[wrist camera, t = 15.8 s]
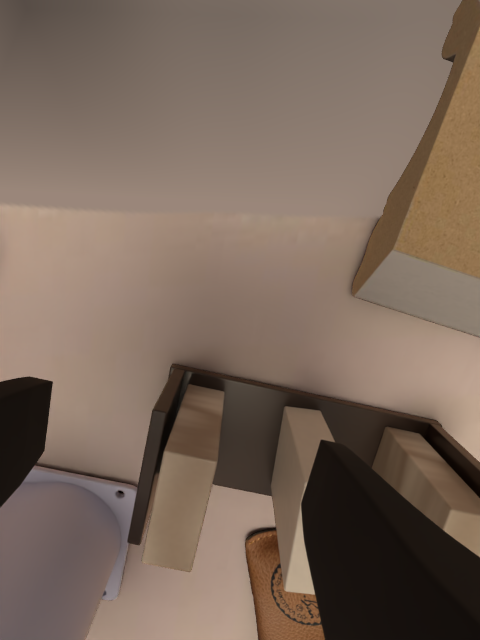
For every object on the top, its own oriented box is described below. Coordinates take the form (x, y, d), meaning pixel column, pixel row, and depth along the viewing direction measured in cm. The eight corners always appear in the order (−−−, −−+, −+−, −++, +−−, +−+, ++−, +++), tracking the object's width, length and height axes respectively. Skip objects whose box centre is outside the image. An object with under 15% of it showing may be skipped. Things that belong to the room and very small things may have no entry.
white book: (270, 486, 21) (283, 592, 15) (284, 405, 20) (304, 481, 14) (305, 490, 21) (333, 598, 15) (320, 409, 20) (358, 488, 14)
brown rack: (151, 465, 21) (109, 573, 14) (172, 363, 20) (137, 427, 13) (402, 516, 22) (475, 641, 15) (437, 420, 21) (536, 510, 14)
